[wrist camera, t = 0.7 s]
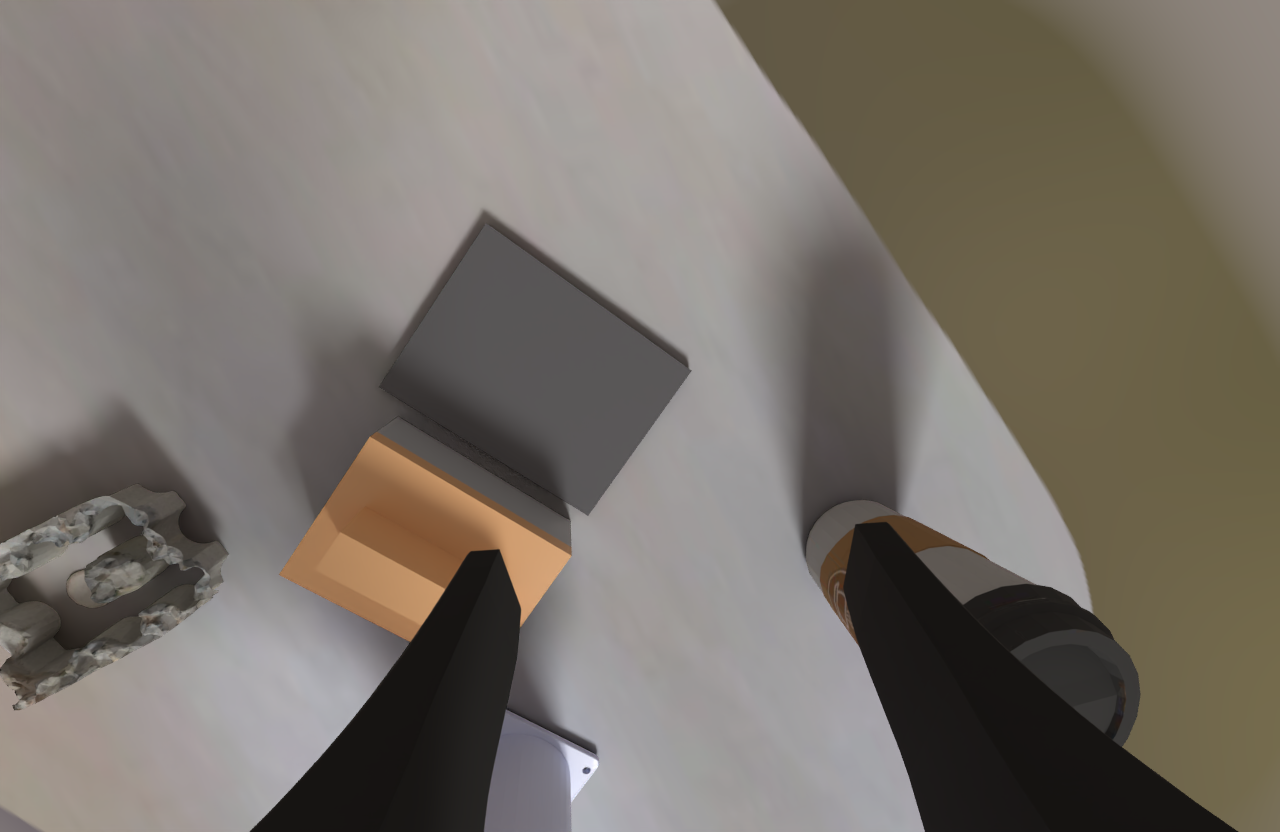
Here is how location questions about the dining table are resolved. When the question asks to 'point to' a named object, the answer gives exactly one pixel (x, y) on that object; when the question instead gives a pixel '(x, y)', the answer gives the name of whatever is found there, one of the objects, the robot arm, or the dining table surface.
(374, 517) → the lid
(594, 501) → the mat
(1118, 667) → the coffee cup
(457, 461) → the parts tub
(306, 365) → the dining table surface
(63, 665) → the grey rock
